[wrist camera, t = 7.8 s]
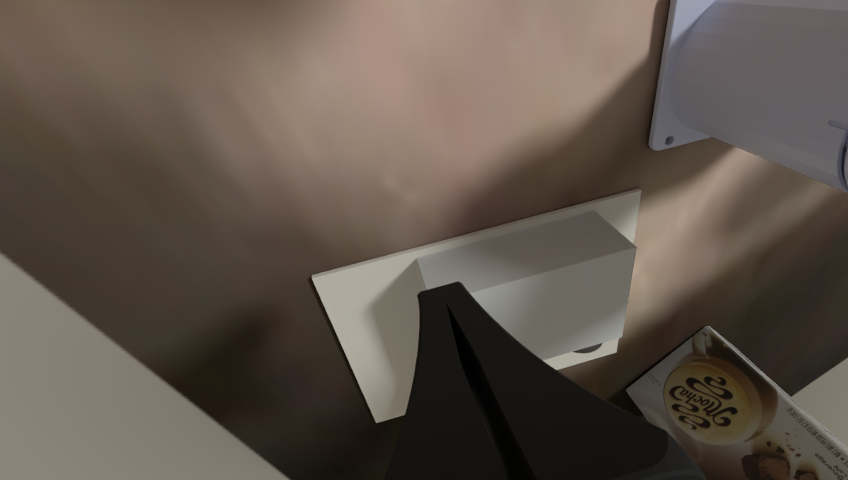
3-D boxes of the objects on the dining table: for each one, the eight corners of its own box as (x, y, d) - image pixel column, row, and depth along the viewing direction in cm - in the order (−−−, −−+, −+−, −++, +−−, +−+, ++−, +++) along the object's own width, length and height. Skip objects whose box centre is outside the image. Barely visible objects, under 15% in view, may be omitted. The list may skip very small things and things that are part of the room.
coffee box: (656, 405, 39) (824, 622, 26) (622, 388, 36) (792, 624, 23) (737, 346, 36) (973, 557, 23) (707, 322, 33) (958, 549, 20)
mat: (638, 188, 24) (641, 190, 24) (614, 349, 33) (616, 352, 32) (311, 275, 23) (311, 278, 22) (375, 419, 31) (376, 423, 31)
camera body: (594, 210, 24) (644, 253, 20) (586, 307, 29) (625, 357, 25) (416, 257, 23) (433, 312, 19) (438, 349, 28) (455, 407, 24)
